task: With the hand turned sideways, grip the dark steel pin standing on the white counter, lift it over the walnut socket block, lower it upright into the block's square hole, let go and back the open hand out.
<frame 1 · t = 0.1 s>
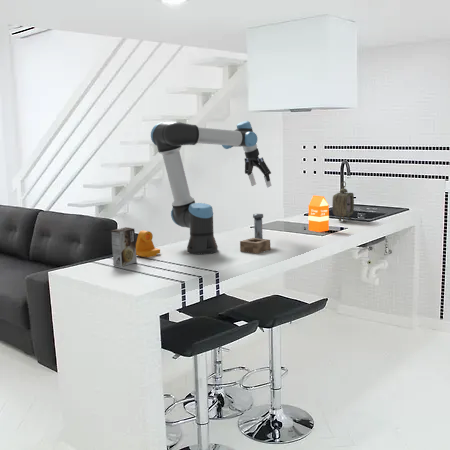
hand: (261, 185, 322), 28 cm above the countertop, tool tilted 20°, fingers open, 13 cm apart
socket block: (255, 250, 287), on the countertop
coffee box: (125, 264, 267), on the countertop
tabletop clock: (342, 221, 366), on the countertop
steel pin: (258, 245, 299), on the countertop
bracket: (147, 255, 284), on the countertop
orange juice: (318, 230, 336), on the countertop
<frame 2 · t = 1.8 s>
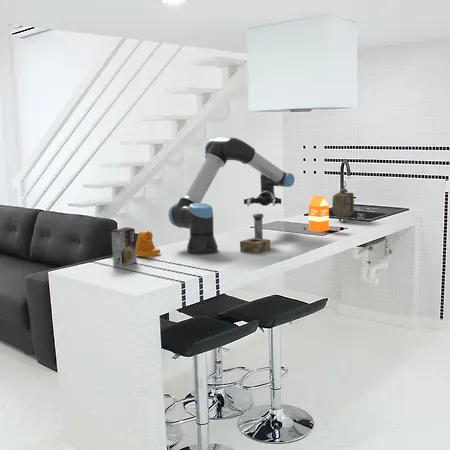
hand: (260, 203, 306), 20 cm above the countertop, tool horizontal, fingers open, 13 cm apart
nothing on the countertop moved.
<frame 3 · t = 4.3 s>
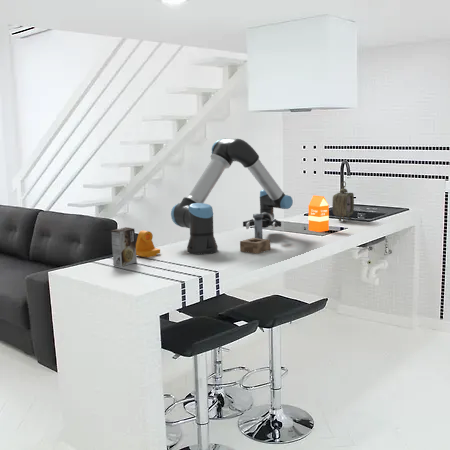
hand: (260, 226, 300), 9 cm above the countertop, tool horizontal, fingers open, 13 cm apart
nothing on the countertop moved.
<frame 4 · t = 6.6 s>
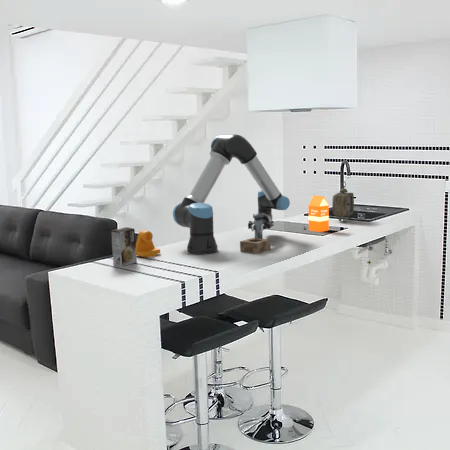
hand: (256, 228, 292), 10 cm above the countertop, tool horizontal, fingers closed on steel pin, 4 cm apart
steel pin: (258, 245, 299), on the countertop, touching gripper
everything else where it was.
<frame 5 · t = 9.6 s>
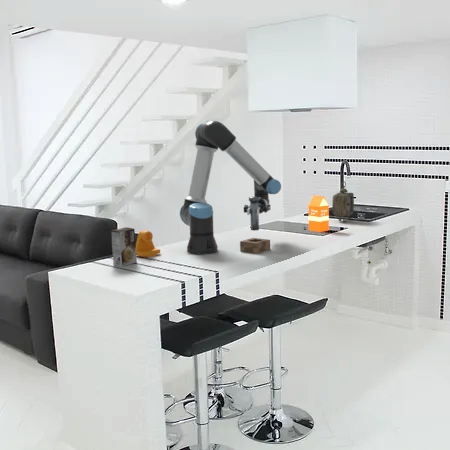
hand: (252, 212, 278), 20 cm above the countertop, tool horizontal, fingers closed on steel pin, 4 cm apart
steel pin: (254, 229, 285), point 10 cm above the countertop, touching gripper
everything else where it was.
when the fingers open (11 cm above the countertop, at t = 12.5 s): steel pin drops 1 cm, resting in socket block.
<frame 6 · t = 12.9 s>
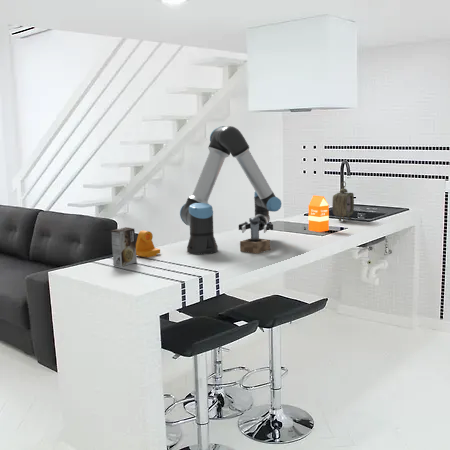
hand: (253, 230, 281), 11 cm above the countertop, tool horizontal, fingers open, 10 cm apart
steel pin: (255, 250, 287), resting in socket block
everything else where it was.
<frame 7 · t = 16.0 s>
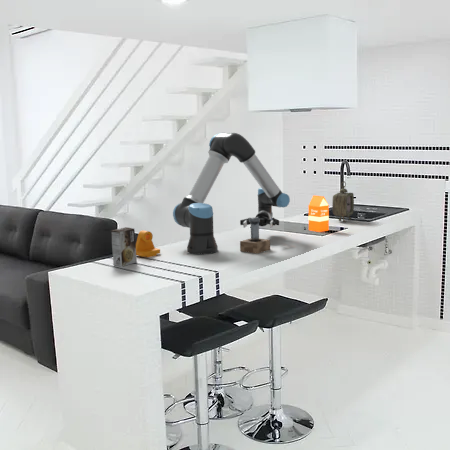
hand: (257, 225, 294), 11 cm above the countertop, tool horizontal, fingers open, 13 cm apart
nothing on the countertop moved.
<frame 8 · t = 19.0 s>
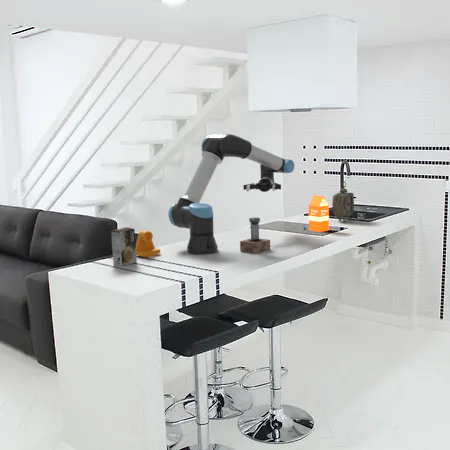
hand: (260, 188, 305), 28 cm above the countertop, tool horizontal, fingers open, 13 cm apart
nothing on the countertop moved.
at the end: steel pin 0.0 cm off-centre on the socket block, point 0.0 cm above the socket block's base; steel pin tilted 0°; the gripper is holding nothing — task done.
